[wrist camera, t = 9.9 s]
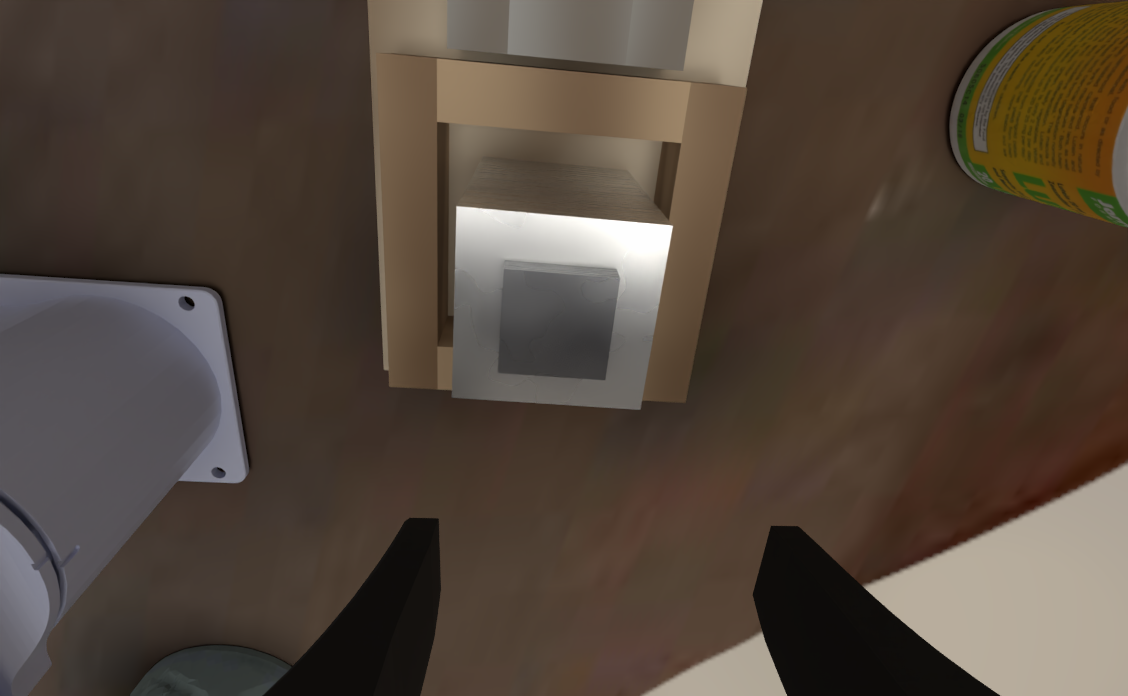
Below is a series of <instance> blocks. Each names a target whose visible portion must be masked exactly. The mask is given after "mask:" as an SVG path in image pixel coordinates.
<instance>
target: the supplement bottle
mask: <svg viewBox="0 0 1128 696" xmlns="http://www.w3.org/2000/svg"><path fill="white" fill-rule="evenodd" d="M949 129H950V141H951V146H952V150H953V153H954V155H955V158H956V160H957V162H958V163H959V165H960V166H961V168H962V169H963V170H964V172H965V173H966V174H967V175H969V176H970V177H971V178H972V179H974V180H975V181H976V182H978V183H980V184H982V185H984V186H986V187H989V188H992V189H995V190H998V191H1001V192H1004V193H1007V194H1011V195H1015V196H1019V197H1022V198H1026V199H1029V200H1033V201H1036V202H1040V203H1043V204H1047V205H1051V206H1054V207H1058V208H1061V209H1065V210H1068V211H1072V212H1075V213H1079V214H1082V215H1085V216H1089V217H1092V218H1096V219H1099V220H1103V221H1106V222H1110V223H1113V224H1117V225H1120V226H1124V227H1127V228H1128V1H1124V2H1114V3H1101V4H1091V5H1080V6H1071V7H1063V8H1056V9H1051V10H1047V11H1043V12H1040V13H1037V14H1034V15H1032V16H1029V17H1027V18H1025V19H1023V20H1021V21H1019V22H1017V23H1015V24H1014V25H1012V26H1010V27H1009V28H1007V29H1006V30H1004V31H1003V32H1002V33H1000V34H999V35H998V36H997V37H995V38H994V39H993V40H992V41H991V42H990V43H989V44H988V45H987V46H986V47H985V48H984V49H983V50H982V51H981V52H980V53H979V54H978V56H977V57H976V58H975V60H974V61H973V62H972V64H971V65H970V67H969V68H968V70H967V71H966V73H965V75H964V77H963V79H962V81H961V83H960V85H959V87H958V90H957V92H956V95H955V98H954V101H953V105H952V109H951V115H950V125H949Z"/></svg>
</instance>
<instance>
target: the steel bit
mask: <svg viewBox="0 0 1128 696" xmlns="http://www.w3.org/2000/svg"><path fill="white" fill-rule="evenodd" d="M672 228H673V225H672V224H671V223H670V221H669V220H668V219H667V218H666V217H665V215H664V214H663V213H662V212H661V210H660V209H659V208H658V207H657V206H656V204H655V203H654V202H653V201H652V199H651V198H650V197H649V196H648V195H647V193H646V192H645V191H644V190H643V188H642V187H641V186H640V185H639V184H638V182H637V181H636V180H635V179H634V177H633V176H632V175H631V174H630V173H629V171H628V170H620V169H610V168H599V167H589V166H579V165H568V164H558V163H548V162H537V161H527V160H517V159H506V158H496V157H486V156H483V157H482V159H481V161H480V163H479V165H478V167H477V169H476V171H475V172H474V174H473V176H472V178H471V180H470V182H469V184H468V186H467V188H466V189H465V191H464V193H463V195H462V197H461V199H460V201H459V203H458V204H457V209H456V249H455V288H454V328H453V368H452V398H466V399H481V400H497V401H512V402H528V403H543V404H558V405H574V406H589V407H605V408H620V409H636V410H640V409H641V403H642V398H643V392H644V386H645V381H646V375H647V369H648V364H649V358H650V352H651V347H652V341H653V336H654V330H655V324H656V319H657V313H658V307H659V302H660V296H661V290H662V285H663V279H664V273H665V268H666V262H667V257H668V251H669V245H670V240H671V234H672Z"/></svg>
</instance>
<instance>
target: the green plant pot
mask: <svg viewBox="0 0 1128 696" xmlns="http://www.w3.org/2000/svg"><path fill="white" fill-rule="evenodd" d="M290 668H291V666H290V665H288V664H287V663H285V662H283V661H281V660H279V659H277V658H275V657H273V656H271V655H268V654H266V653H262V652H259V651H256V650H252V649H248V648H244V647H237V646H227V645H209V646H199V647H193V648H188V649H184V650H181V651H179V652H176V653H173V654H171V655H169V656H167V657H165V658H164V659H162V660H161V661H160V662H158V663H157V664H155V665H154V666H153V667H152V668H151V669H150V670H149V671H148V672H147V673H146V674H145V676H144V677H143V678H142V680H141V681H140V682H139V684H138V685H137V686H136V687H135V689H134V690H133V691H132V693H131V694H130V696H262V695H264V694H265V693H266V692H267V691H268V690H269V689H270V688H271V687H272V686H273V685H274V684H275V683H276V682H277V681H278V680H279V679H280V678H281V677H282V676H283V675H284V674H285V673H286V672H287V671H288V670H289V669H290Z"/></svg>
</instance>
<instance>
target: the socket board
mask: <svg viewBox="0 0 1128 696" xmlns="http://www.w3.org/2000/svg"><path fill="white" fill-rule="evenodd" d="M762 1H763V0H368V21H369V44H370V67H371V89H372V112H373V135H374V158H375V180H376V203H377V226H378V249H379V272H380V294H381V317H382V340H383V363H384V370H389V387H402V388H420V389H439V390H452V368H453V328H454V288H455V249H456V209H457V204H458V203H459V201H460V199H461V197H462V195H463V193H464V191H465V189H466V188H467V186H468V184H469V182H470V180H471V178H472V176H473V174H474V172H475V171H476V169H477V167H478V165H479V163H480V161H481V159H482V157H483V156H486V157H496V158H506V159H517V160H527V161H537V162H548V163H558V164H568V165H579V166H589V167H599V168H610V169H620V170H628V171H629V173H630V174H631V175H632V176H633V177H634V179H635V180H636V181H637V182H638V184H639V185H640V186H641V187H642V188H643V190H644V191H645V192H646V193H647V195H648V196H649V197H650V198H651V199H652V201H653V202H654V203H655V204H656V206H657V207H658V208H659V209H660V210H661V212H662V213H663V214H664V215H665V217H666V218H667V219H668V220H669V221H670V223H671V224H672V225H673V228H672V234H671V240H670V245H669V251H668V257H667V262H666V268H665V273H664V279H663V285H662V290H661V296H660V302H659V307H658V313H657V319H656V324H655V330H654V336H653V341H652V347H651V352H650V358H649V364H648V369H647V375H646V381H645V386H644V392H643V398H642V401H660V402H679V403H685V402H686V397H687V392H688V387H689V382H690V377H691V372H692V367H693V362H694V357H695V352H696V347H697V341H698V336H699V331H700V326H701V321H702V316H703V311H704V306H705V301H706V296H707V291H708V286H709V281H710V276H711V270H712V265H713V260H714V255H715V250H716V245H717V240H718V235H719V230H720V225H721V220H722V215H723V210H724V205H725V199H726V194H727V189H728V184H729V179H730V174H731V169H732V164H733V159H734V154H735V149H736V144H737V139H738V133H739V128H740V123H741V118H742V113H743V108H744V103H745V98H746V93H747V88H746V82H747V77H748V72H749V67H750V62H751V57H752V52H753V47H754V42H755V37H756V31H757V26H758V21H759V16H760V11H761V6H762Z"/></svg>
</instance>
